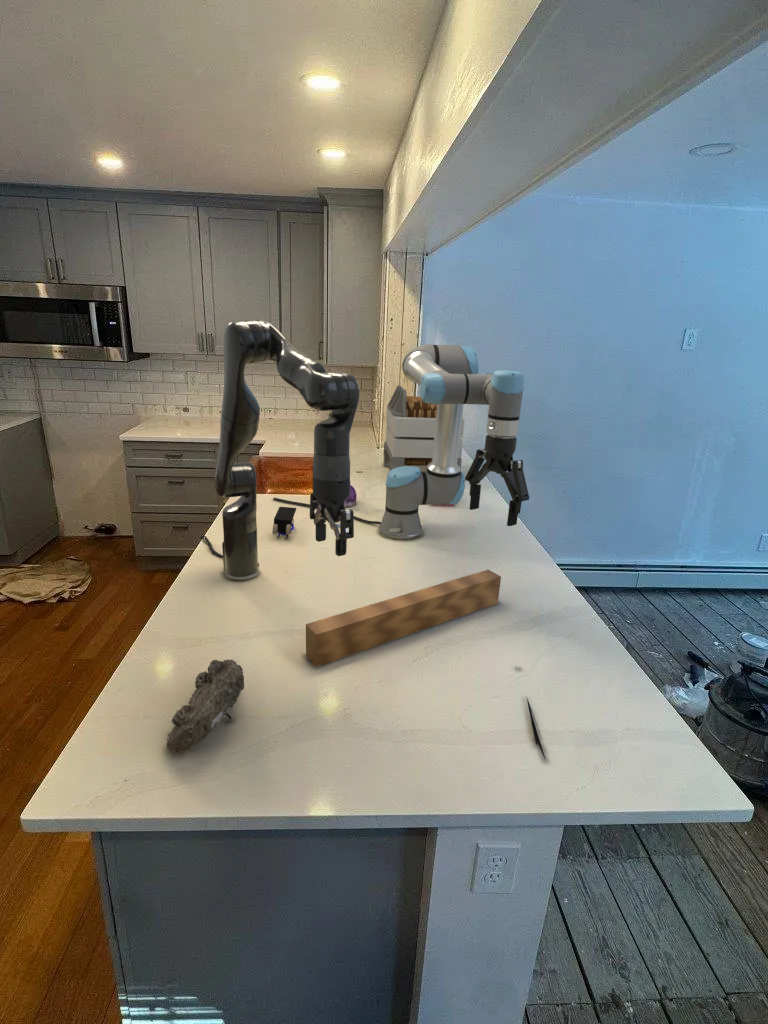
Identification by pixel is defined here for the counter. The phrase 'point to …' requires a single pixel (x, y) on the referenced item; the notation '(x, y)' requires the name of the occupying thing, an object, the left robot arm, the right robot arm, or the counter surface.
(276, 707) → the counter surface
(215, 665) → the fossil
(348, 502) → the figurine
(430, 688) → the counter surface
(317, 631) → the beam
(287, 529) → the figurine character
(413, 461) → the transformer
